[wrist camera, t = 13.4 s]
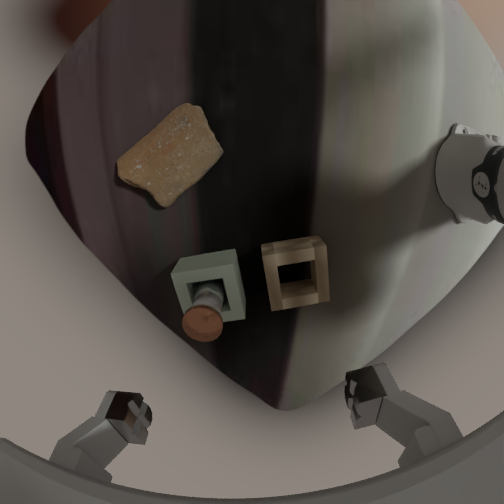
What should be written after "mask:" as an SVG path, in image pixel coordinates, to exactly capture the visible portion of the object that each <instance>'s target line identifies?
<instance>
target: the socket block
mask: <svg viewBox="0 0 504 504" xmlns="http://www.w3.org/2000/svg"><path fill="white" fill-rule="evenodd" d="M171 277H172V280H173V284H174V287H175V290H176V293H177V296H178V299H179V302H180V305H181V308H182V311H183V314H185V312H186V311H187V309H188V308H190V307H191V306H192V303H193V300H194V298H195V295H196V292H197V289H198V286H199V284H198V282H199V281H206V280H212V279H219V278H223V281H224V285H225V289H226V292H224V298H223V304H222V309H221V316H222V319H223V322H226V321H234V320H241V319H245V311H246V297H245V292H244V288H243V283H242V278H241V274H240V269H239V264H238V260H237V255H236V250H235V249H231V250H225V251H219V252H213V253H207V254H201V255H195V256H189V257H184V258H180V259H179V261H178V262H177V264H176V266H175V267H174V269H173V271H172V272H171Z"/></svg>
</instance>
